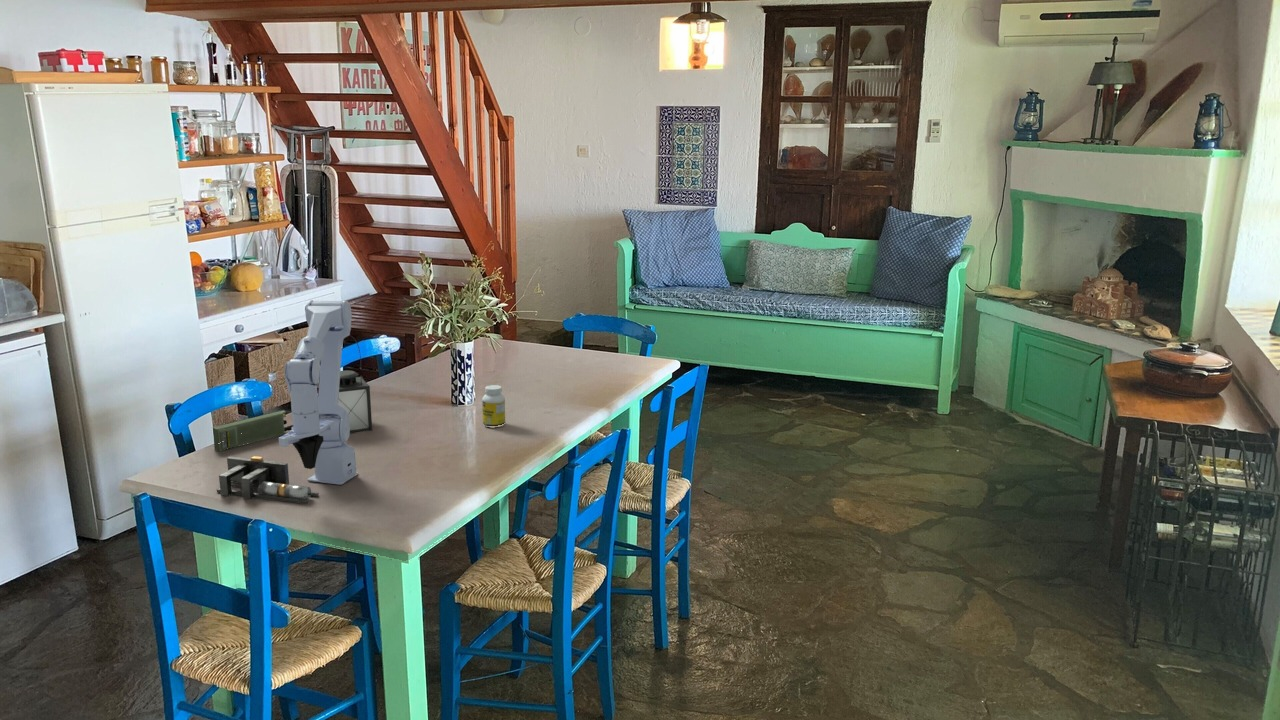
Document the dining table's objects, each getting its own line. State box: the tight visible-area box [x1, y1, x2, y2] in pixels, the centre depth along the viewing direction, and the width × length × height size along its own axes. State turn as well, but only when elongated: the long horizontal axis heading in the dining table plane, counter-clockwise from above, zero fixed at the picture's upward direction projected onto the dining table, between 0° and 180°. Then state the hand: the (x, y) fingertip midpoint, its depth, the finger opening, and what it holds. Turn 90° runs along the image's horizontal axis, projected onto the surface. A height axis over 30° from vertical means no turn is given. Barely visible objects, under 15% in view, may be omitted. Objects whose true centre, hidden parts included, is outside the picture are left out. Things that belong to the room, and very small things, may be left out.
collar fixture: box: [216, 455, 320, 505], centre depth 222 cm, size 26×9×7 cm, turn 75°
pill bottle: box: [481, 384, 506, 427], centre depth 273 cm, size 6×6×12 cm
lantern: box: [338, 334, 373, 434], centre depth 268 cm, size 11×11×28 cm
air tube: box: [257, 481, 312, 501], centre depth 220 cm, size 12×3×3 cm, turn 75°
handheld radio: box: [212, 410, 293, 452], centre depth 259 cm, size 7×3×25 cm
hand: (309, 467), depth 216 cm, fingers closed
